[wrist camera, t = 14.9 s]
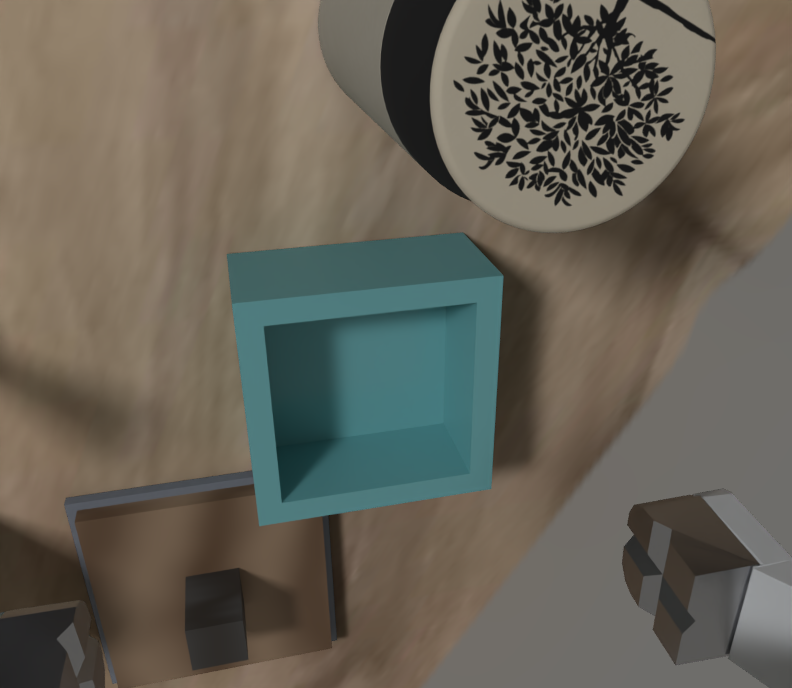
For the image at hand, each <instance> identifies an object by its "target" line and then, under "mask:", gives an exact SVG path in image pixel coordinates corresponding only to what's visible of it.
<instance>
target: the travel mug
mask: <svg viewBox="0 0 792 688" xmlns="http://www.w3.org/2000/svg"><path fill="white" fill-rule="evenodd" d="M318 32H319V41H320V46H321V50H322V54H323V57H324V60H325V63H326V65H327V67H328V69H329V71H330V73H331V75H332V77H333V78H334V80H335V81H336V83H337V84H338V85H339V87H340V88H341V89H342V90H343V91H344V92H345V94H346V95H347V96H348V97H350V98H351V99H352V100H353V101H354V102H355V103H356V104H357V105H358V106H359V107H360V108H361V109H362V110H363V111H364V112H365V113H366V114H367V115H368V116H369V117H370V118H371V119H373V120H374V121H375V122H376V123H377V124H378V125H379V126H380V127H381V128H382V129H383V130H384V131H385V132H386V133H387V134H388V135H389V136H390V137H391V138H392V139H393V140H394V141H396V142H397V143H398V144H399V145H400V146H401V147H402V148H403V149H404V150H405V151H406V152H407V153H408V154H409V155H410V156H411V157H412V158H413V159H414V160H415V161H416V162H418V163H419V164H420V165H421V166H422V167H423V168H424V169H425V170H426V171H427V172H428V173H429V174H430V175H431V176H432V177H433V178H434V179H436V180H437V181H438V182H439V183H440V184H441V185H443V186H444V187H446V188H447V189H448V190H450V191H452V192H453V193H455V194H457V195H459V196H460V197H463V198H465V199H467V200H470V201H472V202H473V203H474V204H475V205H477V206H478V207H479V208H480V209H482V210H483V211H484V212H486V213H487V214H489V215H490V216H492V217H494V218H495V219H497V220H499V221H501V222H503V223H505V224H508V225H511V226H514V227H516V228H520V229H524V230H528V231H534V232H541V233H562V232H572V231H577V230H582V229H586V228H590V227H593V226H596V225H599V224H601V223H604V222H607V221H609V220H611V219H613V218H615V217H617V216H619V215H621V214H622V213H624V212H626V211H627V210H629V209H631V208H632V207H634V206H635V205H636V204H638V203H639V202H641V201H642V200H643V199H644V198H646V197H647V196H648V195H649V194H650V193H652V192H653V191H654V190H655V189H656V188H657V187H658V186H659V185H660V184H661V183H662V182H663V181H664V180H665V179H666V177H667V176H668V175H669V174H670V173H671V172H672V171H673V169H674V168H675V167H676V165H677V164H678V163H679V161H680V160H681V158H682V157H683V155H684V154H685V152H686V151H687V149H688V148H689V146H690V144H691V142H692V140H693V138H694V136H695V135H696V133H697V130H698V128H699V126H700V124H701V121H702V119H703V116H704V113H705V110H706V108H707V104H708V101H709V97H710V93H711V89H712V84H713V78H714V70H715V58H716V43H715V30H714V24H713V18H712V13H711V9H710V6H709V2H708V0H321V1H320V6H319V15H318Z"/></svg>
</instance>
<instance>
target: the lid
mask: <svg viewBox="0 0 792 688" xmlns="http://www.w3.org/2000/svg"><path fill="white" fill-rule="evenodd" d="M75 527H76V530H77V534H78V538H79V542H80V545H81V549H82V553H83V557H84V560H85V564H86V568H87V572H88V575H89V579H90V583H91V587H92V590H93V594H94V598H95V602H96V605H97V609H98V613H99V617H100V620H101V624H102V628H103V632H104V635H105V639H106V643H107V646H108V650H109V654H110V658H111V661H112V665H113V669H114V673H115V676H116V680H117V684H118V688H131V687H136V686H141V685H147V684H152V683H157V682H162V681H167V680H172V679H177V678H182V677H187V676H192V675H197V674H203V673H208V672H213V671H218V670H223V669H228V668H233V667H238V666H243V665H248V664H253V663H259V662H264V661H269V660H274V659H279V658H284V657H289V656H294V655H299V654H304V653H310V652H315V651H320V650H325V649H330V648H332V642H331V628H330V615H329V601H328V587H327V573H326V559H325V546H324V532H323V518H322V516H320V517H314V518H308V519H301V520H295V521H289V522H283V523H277V524H270V525H264V526H259V520H258V512H257V504H256V495H255V487H254V484H250V485H244V486H237V487H230V488H224V489H217V490H211V491H204V492H197V493H191V494H184V495H177V496H171V497H164V498H157V499H151V500H144V501H137V502H131V503H124V504H117V505H111V506H104V507H97V508H91V509H84V510H78V511H77V513H76V518H75Z"/></svg>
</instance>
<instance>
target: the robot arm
mask: <svg viewBox="0 0 792 688" xmlns="http://www.w3.org/2000/svg"><path fill="white" fill-rule="evenodd" d="M627 525H628V526H629V528H630V529H631V531H632V532H633V533H634V535H633V536H632V538H631V539H630V540H629V541H628V542H627V543H626V545H625V546H624V551H623V559H622V565H623V571H624V576H625V581H626V584H627V586H628V589H629V591H630V593H631V595H632V597H633V599H634V600H635V602H636V603H637V605H638V606H639V607H640V608H642V609H643V610H645V611H647V612H649V613H650V614H652V615H654V616H655V619H654V626H653V631H654V632H655V634H656V635H657V637H658V638H659V640H660V642H661V643H662V645H663V646H664V648H665V649H666V651H667V653H668V654H669V656H670V657H671V659H672V661H673V662H674V664H675V665H680V664H686V663H691V662H697V661H703V660H708V659H714V658H719V657H724V656H729V657H728V659H729V660H731V661H732V662H733V663H735V664H736V665H738V666H739V667H740V668H742V669H743V670H745V671H746V672H748V673H749V674H750V675H752V676H753V677H755V678H756V679H758V680H759V681H760V682H762V683H763V684H765V685H766V686H767V687H769V688H792V557H791V556H790V555H789V554H788V552H787V551H786V550H785V549H784V548H783V547H782V546H781V545H780V544H779V543H778V542H777V541H776V540H775V539H774V537H773V536H772V535H771V534H770V533H769V532H768V531H767V530H766V529H765V528H764V527H763V526H762V524H761V523H760V522H759V521H758V520H757V519H756V518H755V517H754V516H753V515H752V514H751V513H750V512H749V511H748V509H747V508H746V507H745V506H744V505H743V504H742V503H741V502H740V501H739V500H738V499H737V498H736V497H735V496H734V494H732V493H731V492H730V491H727V490H726V489H718V490H713V491H707V492H702V493H697V494H693V495H687V496H681V497H675V498H670V499H664V500H658V501H653V502H648V503H642V504H637V505H634V506H633V508H632V509H631V511H630V513H629V518H628V524H627ZM90 624H91V616H90V613H89V610H88V608H87V605H86V602H85V601H82V600H77V601H70V602H63V603H56V604H50V605H43V606H36V607H29V608H22V609H16V610H9V611H5V612H1V613H0V688H105V668H104V661H103V655H102V651H101V648H100V644H99V641H98V640H96V639H94V638H93V637H91V636H89V630H90Z"/></svg>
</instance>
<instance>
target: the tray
mask: <svg viewBox="0 0 792 688" xmlns="http://www.w3.org/2000/svg"><path fill="white" fill-rule="evenodd" d="M250 484H254V479H253V471H246V472H240V473H233V474H226V475H219V476H212V477H206V478H199V479H192V480H185V481H178V482H171V483H165V484H158V485H151V486H144V487H137V488H131V489H124V490H117V491H110V492H103V493H97V494H90V495H83V496H76V497H69V498H66V500H65V504H64V506H65V509H66V513H67V517H68V521H69V524H70V528H71V532H72V535H73V539H74V543H75V546H76V550H77V554H78V557H79V561H80V565H81V568H82V572H83V576H84V580H85V583H86V587H87V591H88V594H89V598H90V602H91V605H92V609H93V613H94V616H95V620H96V624H97V627H98V631H99V635H100V639H101V642H102V646H103V650H104V653H105V657H106V661H107V664H108V668H109V672H110V675H111V679H112V683H113V684H114V683H117V680H116V676H115V673H114V669H113V665H112V661H111V658H110V654H109V650H108V646H107V643H106V639H105V635H104V632H103V628H102V624H101V620H100V617H99V613H98V609H97V605H96V602H95V598H94V594H93V590H92V587H91V583H90V579H89V575H88V572H87V568H86V564H85V560H84V557H83V553H82V549H81V545H80V542H79V538H78V534H77V530H76V527H75V518H76V513H77V511H78V510H84V509H91V508H97V507H104V506H111V505H117V504H124V503H131V502H137V501H144V500H151V499H157V498H164V497H171V496H177V495H184V494H191V493H197V492H204V491H211V490H217V489H224V488H230V487H237V486H244V485H250ZM322 518H323V532H324V546H325V559H326V573H327V587H328V601H329V615H330V628H331V641H335V640H337V635H336V620H335V606H334V591H333V576H332V562H331V547H330V532H329V517H328V515H326V516H322Z"/></svg>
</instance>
